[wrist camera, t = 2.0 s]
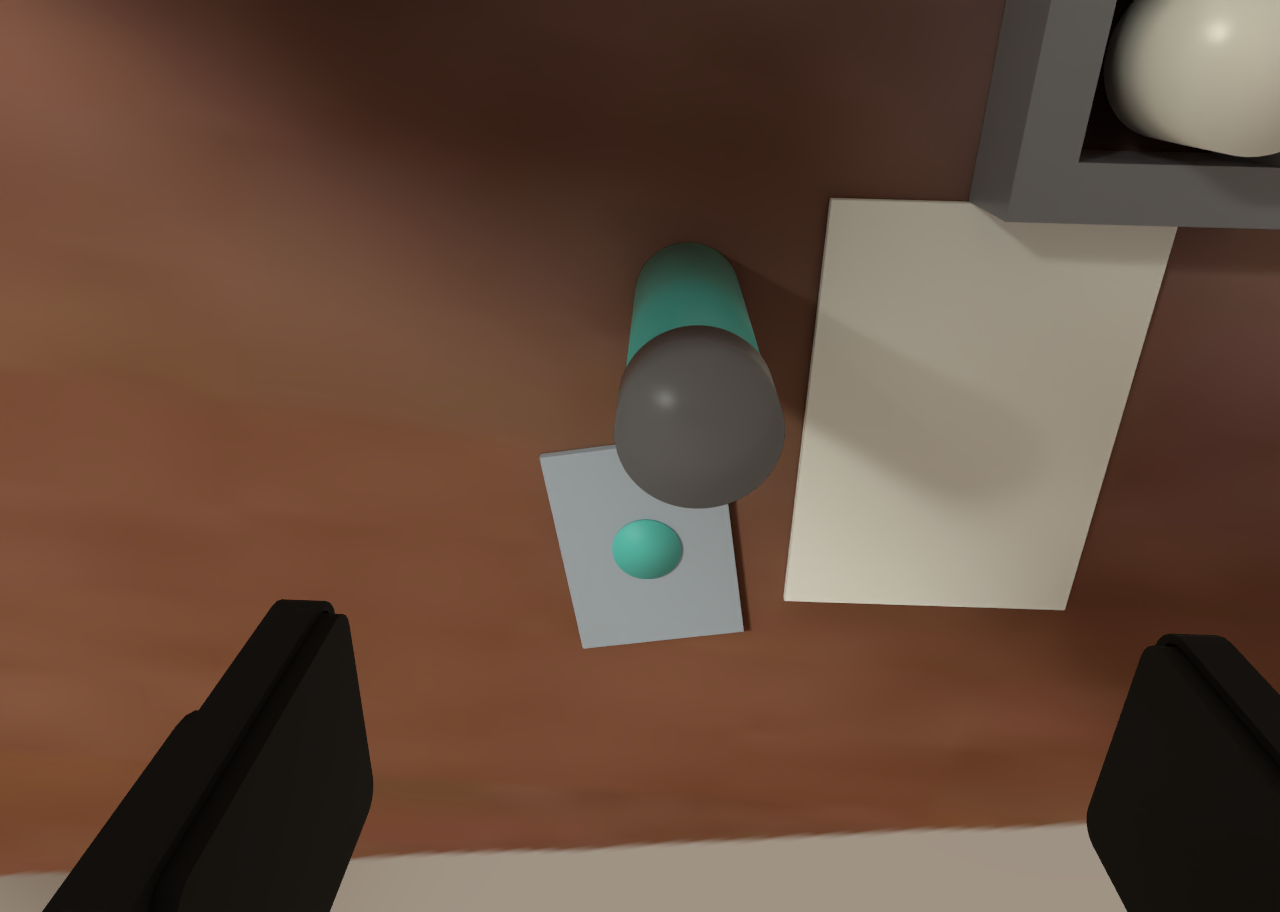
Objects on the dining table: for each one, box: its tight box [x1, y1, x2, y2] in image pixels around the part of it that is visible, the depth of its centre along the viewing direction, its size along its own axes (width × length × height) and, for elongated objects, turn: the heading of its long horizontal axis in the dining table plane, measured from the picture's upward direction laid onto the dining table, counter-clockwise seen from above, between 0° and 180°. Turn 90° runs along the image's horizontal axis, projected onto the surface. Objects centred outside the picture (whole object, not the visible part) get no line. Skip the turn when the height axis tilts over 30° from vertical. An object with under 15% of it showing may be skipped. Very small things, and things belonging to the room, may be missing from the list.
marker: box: [614, 242, 785, 509], centre depth 22 cm, size 3×3×10 cm
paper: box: [784, 198, 1178, 610], centre depth 28 cm, size 14×10×1 cm
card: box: [540, 445, 744, 649], centre depth 30 cm, size 8×6×1 cm
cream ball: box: [1104, 0, 1280, 157], centre depth 20 cm, size 4×4×4 cm
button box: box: [969, 0, 1280, 230], centre depth 22 cm, size 8×8×3 cm
